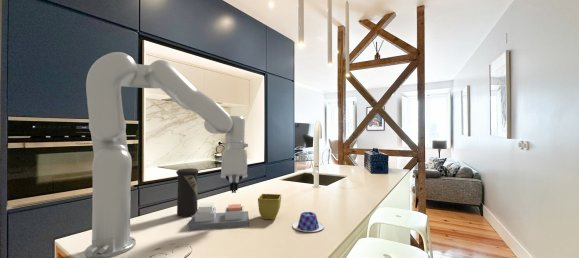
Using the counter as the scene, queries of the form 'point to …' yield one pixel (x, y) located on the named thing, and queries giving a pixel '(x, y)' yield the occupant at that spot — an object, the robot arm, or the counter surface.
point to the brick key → (234, 207)
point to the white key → (205, 208)
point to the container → (187, 192)
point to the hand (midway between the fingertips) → (233, 192)
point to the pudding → (308, 222)
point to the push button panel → (219, 219)
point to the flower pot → (269, 205)
